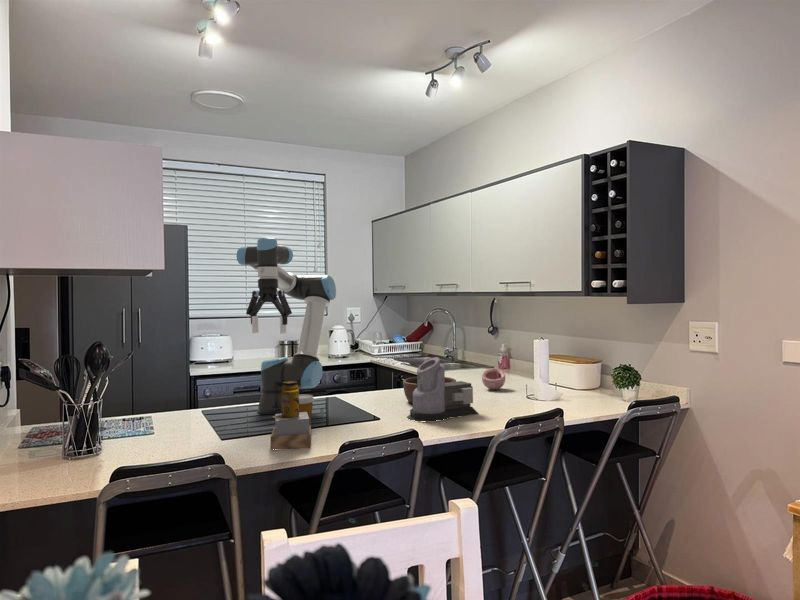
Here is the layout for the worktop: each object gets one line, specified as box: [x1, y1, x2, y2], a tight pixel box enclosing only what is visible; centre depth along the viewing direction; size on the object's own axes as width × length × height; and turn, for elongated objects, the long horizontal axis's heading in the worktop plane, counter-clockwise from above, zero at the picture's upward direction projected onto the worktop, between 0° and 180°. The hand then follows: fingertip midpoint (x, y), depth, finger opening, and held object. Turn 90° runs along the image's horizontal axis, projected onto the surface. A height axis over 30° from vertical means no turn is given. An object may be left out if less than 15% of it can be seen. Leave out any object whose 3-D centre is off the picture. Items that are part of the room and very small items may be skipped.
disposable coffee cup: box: [299, 393, 315, 426], centre depth 213 cm, size 10×10×12 cm
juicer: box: [406, 356, 479, 422], centre depth 229 cm, size 30×16×24 cm, turn 117°
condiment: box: [272, 381, 304, 420], centre depth 189 cm, size 7×8×12 cm
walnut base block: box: [270, 425, 312, 451], centre depth 190 cm, size 13×13×5 cm
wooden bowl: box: [402, 376, 457, 405], centre depth 258 cm, size 25×25×10 cm
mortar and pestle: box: [481, 367, 506, 391], centre depth 286 cm, size 12×12×11 cm
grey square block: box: [274, 412, 310, 436], centre depth 190 cm, size 11×11×5 cm
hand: (269, 333), depth 213 cm, fingers open, 13 cm apart
